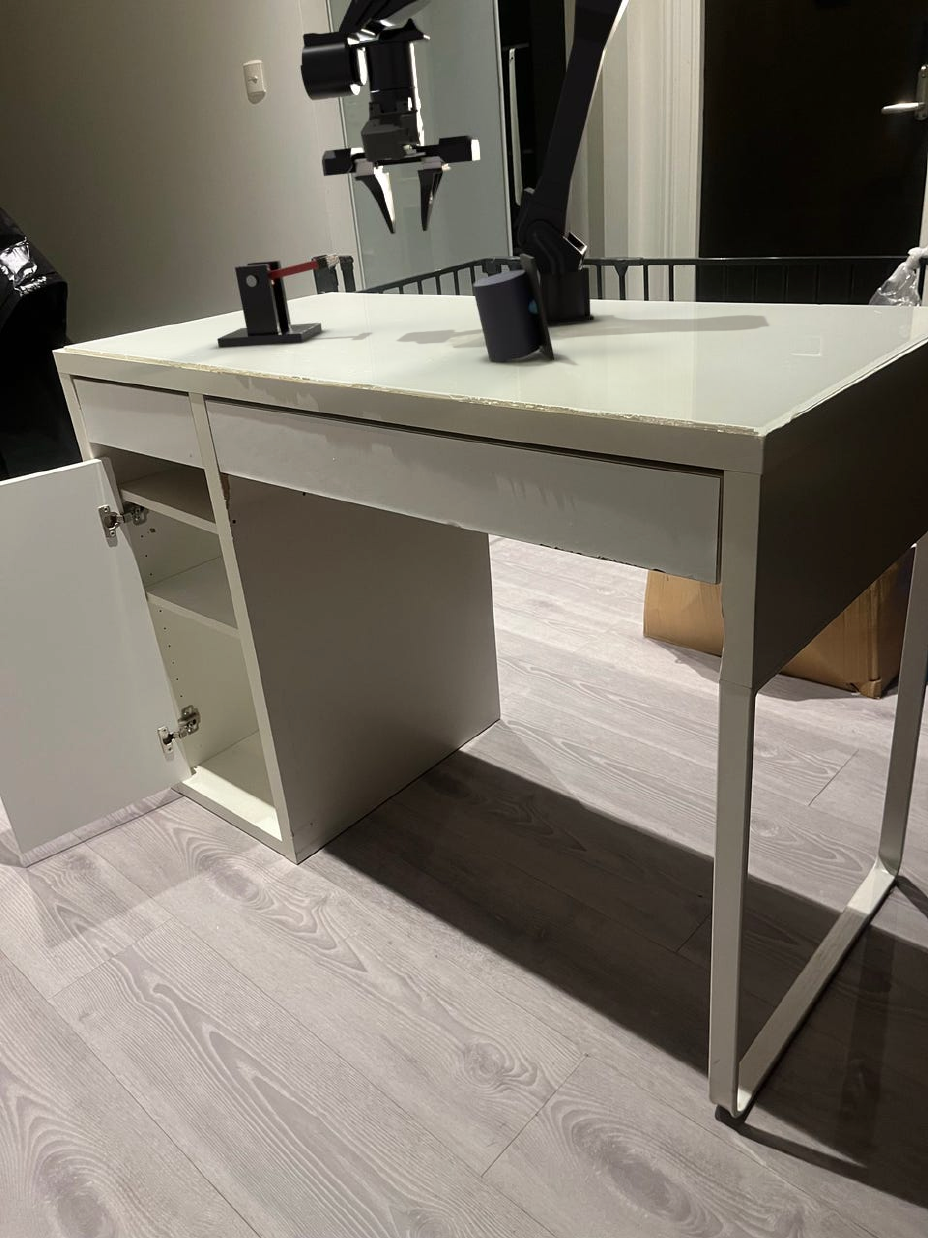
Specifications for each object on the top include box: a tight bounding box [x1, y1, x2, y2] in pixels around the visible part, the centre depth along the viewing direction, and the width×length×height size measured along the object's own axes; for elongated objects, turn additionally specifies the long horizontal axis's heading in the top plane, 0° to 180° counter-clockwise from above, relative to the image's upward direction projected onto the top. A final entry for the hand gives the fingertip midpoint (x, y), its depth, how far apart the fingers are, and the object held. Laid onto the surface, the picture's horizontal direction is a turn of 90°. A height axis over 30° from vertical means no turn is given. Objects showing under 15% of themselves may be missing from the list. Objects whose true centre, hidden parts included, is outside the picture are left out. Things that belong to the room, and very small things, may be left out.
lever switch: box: [216, 260, 323, 349], centre depth 124 cm, size 12×8×10 cm, turn 79°
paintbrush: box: [269, 252, 341, 285], centre depth 122 cm, size 12×5×2 cm, turn 79°
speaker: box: [472, 253, 555, 363], centre depth 98 cm, size 8×6×10 cm
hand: (409, 232), depth 117 cm, fingers open, 4 cm apart
